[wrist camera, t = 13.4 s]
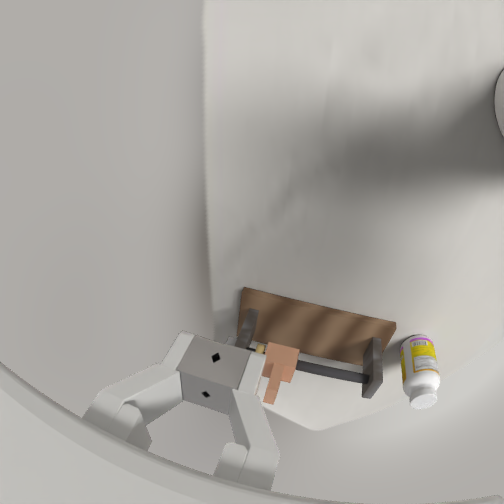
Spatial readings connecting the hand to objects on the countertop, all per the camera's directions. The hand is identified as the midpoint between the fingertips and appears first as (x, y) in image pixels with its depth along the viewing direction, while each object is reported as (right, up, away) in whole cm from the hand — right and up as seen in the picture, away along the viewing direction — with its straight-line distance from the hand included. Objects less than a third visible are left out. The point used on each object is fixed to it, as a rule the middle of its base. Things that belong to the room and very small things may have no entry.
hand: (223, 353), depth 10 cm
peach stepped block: (+6, -13, +38) cm, 41 cm away
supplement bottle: (+31, -14, +40) cm, 53 cm away
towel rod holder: (+12, -10, +44) cm, 47 cm away
